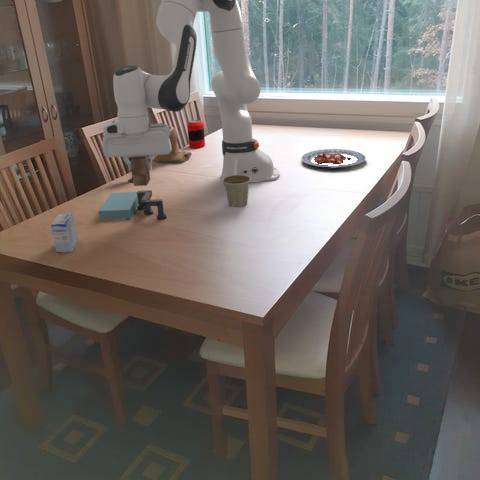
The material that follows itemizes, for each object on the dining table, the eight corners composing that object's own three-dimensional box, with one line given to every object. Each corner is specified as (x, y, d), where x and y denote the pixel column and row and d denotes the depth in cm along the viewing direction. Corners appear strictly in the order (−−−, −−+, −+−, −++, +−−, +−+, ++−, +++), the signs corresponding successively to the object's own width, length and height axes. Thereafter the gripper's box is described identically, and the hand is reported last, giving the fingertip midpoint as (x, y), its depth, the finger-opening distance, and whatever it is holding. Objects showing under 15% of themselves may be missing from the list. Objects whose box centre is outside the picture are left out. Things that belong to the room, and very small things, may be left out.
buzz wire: (170, 205, 172) (169, 188, 169) (165, 219, 161) (163, 201, 159) (138, 207, 172) (136, 190, 170) (130, 220, 161) (128, 203, 159)
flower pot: (231, 211, 165) (229, 185, 161) (218, 202, 173) (217, 178, 169) (256, 205, 169) (256, 180, 165) (243, 197, 176) (242, 173, 173)
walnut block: (150, 179, 161) (147, 154, 158) (146, 185, 155) (143, 159, 152) (137, 179, 161) (134, 154, 158) (133, 185, 156) (130, 160, 152)
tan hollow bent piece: (149, 164, 218) (145, 129, 212) (160, 157, 229) (156, 123, 222) (183, 165, 215) (179, 130, 208) (192, 157, 225) (189, 123, 219)
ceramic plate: (293, 169, 203) (293, 162, 202) (310, 152, 225) (310, 145, 223) (359, 174, 194) (359, 166, 193) (370, 155, 215) (370, 149, 214)
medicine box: (63, 241, 150) (57, 214, 146) (78, 240, 150) (72, 212, 146) (56, 253, 142) (50, 224, 139) (72, 252, 143) (66, 223, 139)
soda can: (208, 145, 243) (206, 120, 238) (198, 149, 237) (196, 123, 232) (195, 144, 247) (193, 119, 242) (186, 147, 241) (183, 122, 236)
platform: (141, 199, 179) (139, 191, 177) (130, 218, 163) (129, 209, 162) (112, 201, 179) (111, 192, 178) (99, 219, 164) (98, 210, 162)
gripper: (170, 120, 153) (175, 165, 159) (103, 123, 154) (110, 168, 160) (167, 125, 148) (172, 171, 153) (97, 128, 148) (105, 174, 154)
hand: (140, 169), depth 157 cm, fingers closed on walnut block, 4 cm apart
